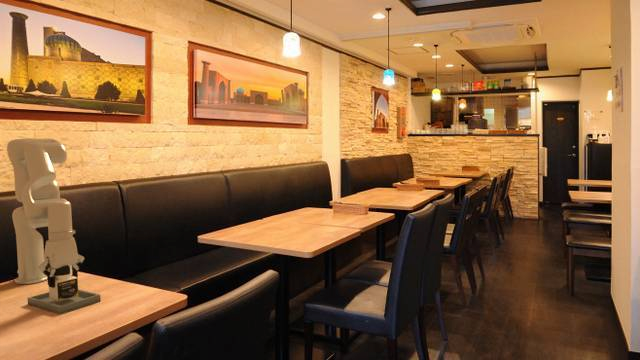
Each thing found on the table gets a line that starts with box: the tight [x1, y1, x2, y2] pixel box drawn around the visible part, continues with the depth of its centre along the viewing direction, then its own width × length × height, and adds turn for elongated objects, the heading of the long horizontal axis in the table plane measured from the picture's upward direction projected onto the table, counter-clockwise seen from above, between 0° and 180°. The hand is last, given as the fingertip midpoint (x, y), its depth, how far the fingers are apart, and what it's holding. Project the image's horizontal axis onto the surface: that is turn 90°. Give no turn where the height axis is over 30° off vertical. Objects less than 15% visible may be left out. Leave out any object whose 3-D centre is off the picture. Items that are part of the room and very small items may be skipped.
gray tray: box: [27, 288, 101, 315], centre depth 171 cm, size 20×15×2 cm
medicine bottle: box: [48, 265, 79, 301], centre depth 170 cm, size 7×7×12 cm
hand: (63, 283), depth 171 cm, fingers closed on medicine bottle, 7 cm apart
